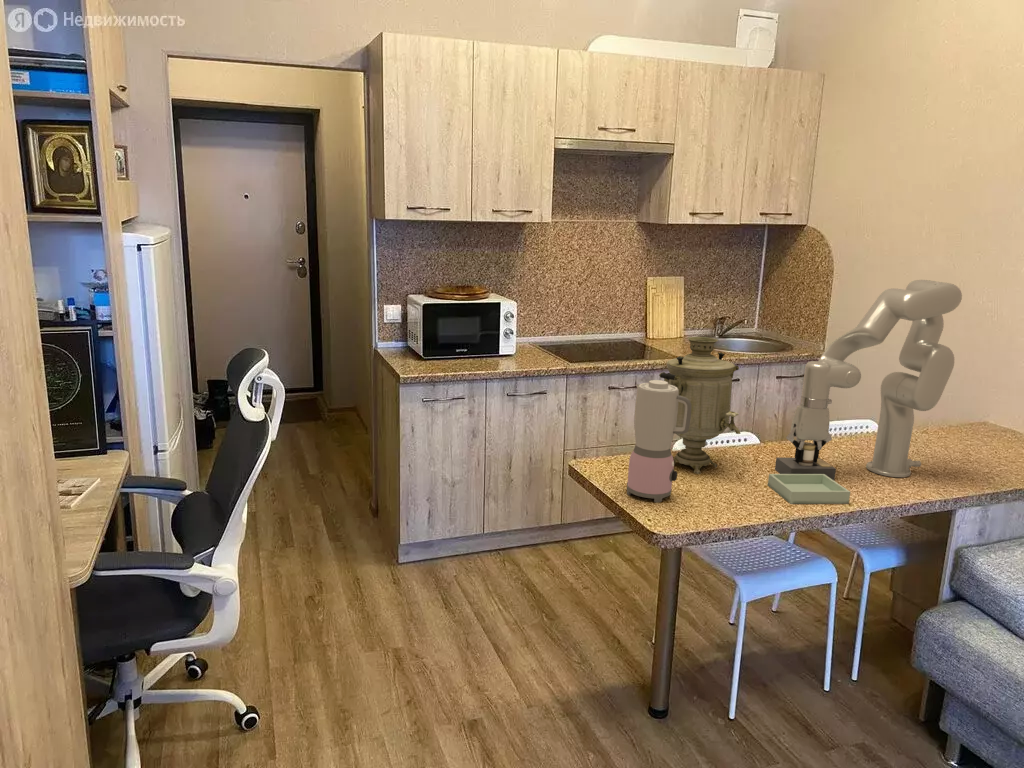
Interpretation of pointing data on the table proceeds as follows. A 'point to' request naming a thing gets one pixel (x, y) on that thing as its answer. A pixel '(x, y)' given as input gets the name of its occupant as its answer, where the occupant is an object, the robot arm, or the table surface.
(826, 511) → the table surface
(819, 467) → the fuse block
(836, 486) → the parts tray
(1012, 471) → the table surface
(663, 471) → the blender
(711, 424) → the samovar
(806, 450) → the fuse
